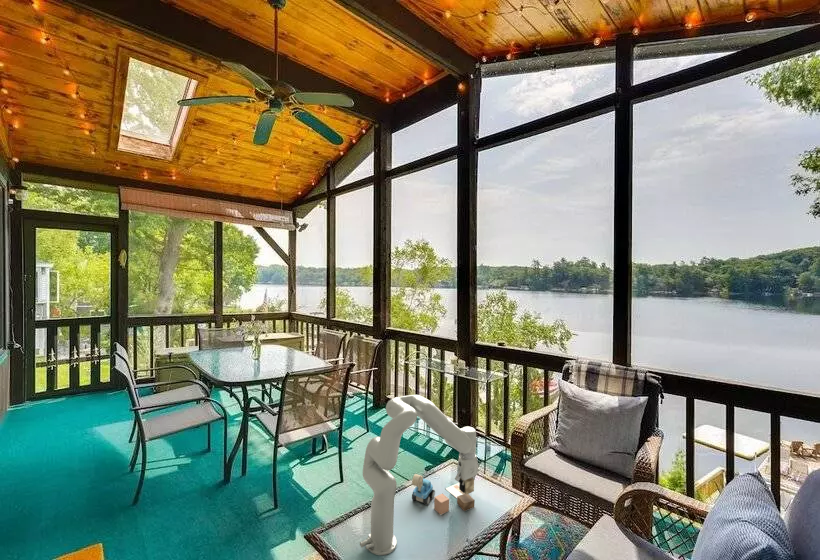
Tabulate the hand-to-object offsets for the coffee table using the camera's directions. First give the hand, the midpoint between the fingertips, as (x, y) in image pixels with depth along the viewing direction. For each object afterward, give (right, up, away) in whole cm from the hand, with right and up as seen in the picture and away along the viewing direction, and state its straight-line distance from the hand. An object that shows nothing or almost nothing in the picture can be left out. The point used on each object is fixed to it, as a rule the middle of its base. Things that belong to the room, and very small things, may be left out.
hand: (466, 488), depth 185 cm
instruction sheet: (-2, -8, +13) cm, 15 cm away
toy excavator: (-22, -8, +2) cm, 24 cm away
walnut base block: (0, -9, +1) cm, 9 cm away
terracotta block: (-13, -9, -3) cm, 15 cm away
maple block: (0, -1, 0) cm, 1 cm away
